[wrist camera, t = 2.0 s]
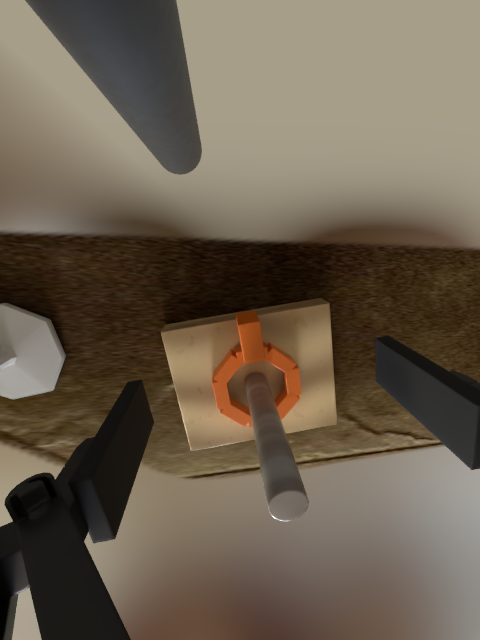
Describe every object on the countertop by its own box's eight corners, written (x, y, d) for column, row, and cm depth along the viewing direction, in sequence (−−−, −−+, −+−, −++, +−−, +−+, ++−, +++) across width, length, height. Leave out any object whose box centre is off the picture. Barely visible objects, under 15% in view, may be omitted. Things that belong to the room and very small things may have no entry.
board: (164, 324, 25) (106, 429, 12) (321, 297, 26) (435, 370, 12) (192, 436, 29) (172, 614, 15) (329, 411, 29) (424, 563, 16)
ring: (200, 319, 23) (198, 331, 20) (289, 304, 23) (299, 314, 21) (222, 424, 26) (222, 447, 23) (300, 409, 26) (310, 431, 24)
